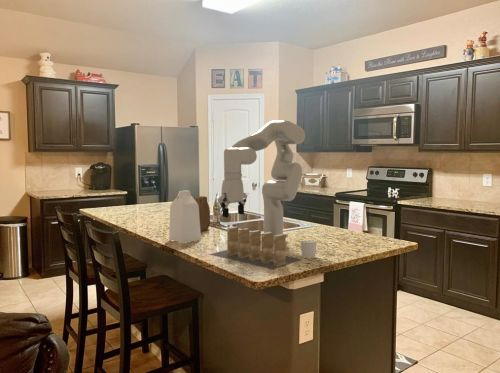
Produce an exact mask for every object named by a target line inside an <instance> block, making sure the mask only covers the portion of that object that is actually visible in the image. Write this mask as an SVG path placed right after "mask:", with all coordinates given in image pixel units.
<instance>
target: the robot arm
mask: <svg viewBox="0 0 500 373" xmlns="http://www.w3.org/2000/svg"><path fill="white" fill-rule="evenodd" d="M305 138H306V132H305V129H303V127H301V126H299V125H297V124H296V123H294V122H291V121H290V120H286V119H284V120H282V119H281V120H271V121H269V122H267V123H266V124H264V125H263V126H262V127H260V129H259V130H257V131H256V132H255V133H253V134H251V135H249V136H246V137H244V138H242V139H241V140H238V141H237V142H235V143H234V144H233V145H232V146H230V147H229V148H225V149H224V150H223V179H224V180H222V184H221V195H220V196H219V197H218V198H217V200H218V204H219V206H220V208H222V211H221V212H222V217H223V218H229V216H230V215H229V214H230V213H229V210H230V209H229V206H230V204H236V203H237V204H238V205H237V214H238V215H244V214H245V205H246V202H247V198H248V194H247V193H245V192H244V191H245V190H244V183H243V179H242V176H243V174H242V165H245V166H246V165H252V164H253V163H255V162H256V161H257V157H258V155H257V152H258V151H263V150H265V149H267V148H268V147H269V146H270V145H271V143H273V142H274V145H275V147H276V156H275V159H274V162H273V164H272V168H271V172H270V175H271V177H272V178H271V179H274V180H267V181H265V182H264V183H263V185H262V186H261V195H262V200H263V233H267V232H272V233H273V246H274V236H275V235H279V234H285V239H286V238H287V239H288V237H289V234H288V233H284V208H283V207H284V206H283V204H282V203H281V201H282V202H283V201H284V202H291V201H293V200H294V199H295V198H296V195H297V193H298V190H299V187H300V183H301V180H302V176H303V169H302V166H301V164H300V163H299V162H295V161H293V160H294V153H293V150H292V148H291V146H289V145H300V144H302V143H304V142H305ZM286 244H287V241H286V240H285V245H286Z"/></svg>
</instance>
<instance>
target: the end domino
mask: <svg viewBox="0 0 500 373" xmlns="http://www.w3.org/2000/svg"><path fill="white" fill-rule="evenodd" d="M238 230H240V229H239V226H231V227H227V230H226V231H227V235H226V236H227V238H226V239H227V243H226V244H227V249H226V250H227V255H230V256H232V255H236V254H238Z"/></svg>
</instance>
